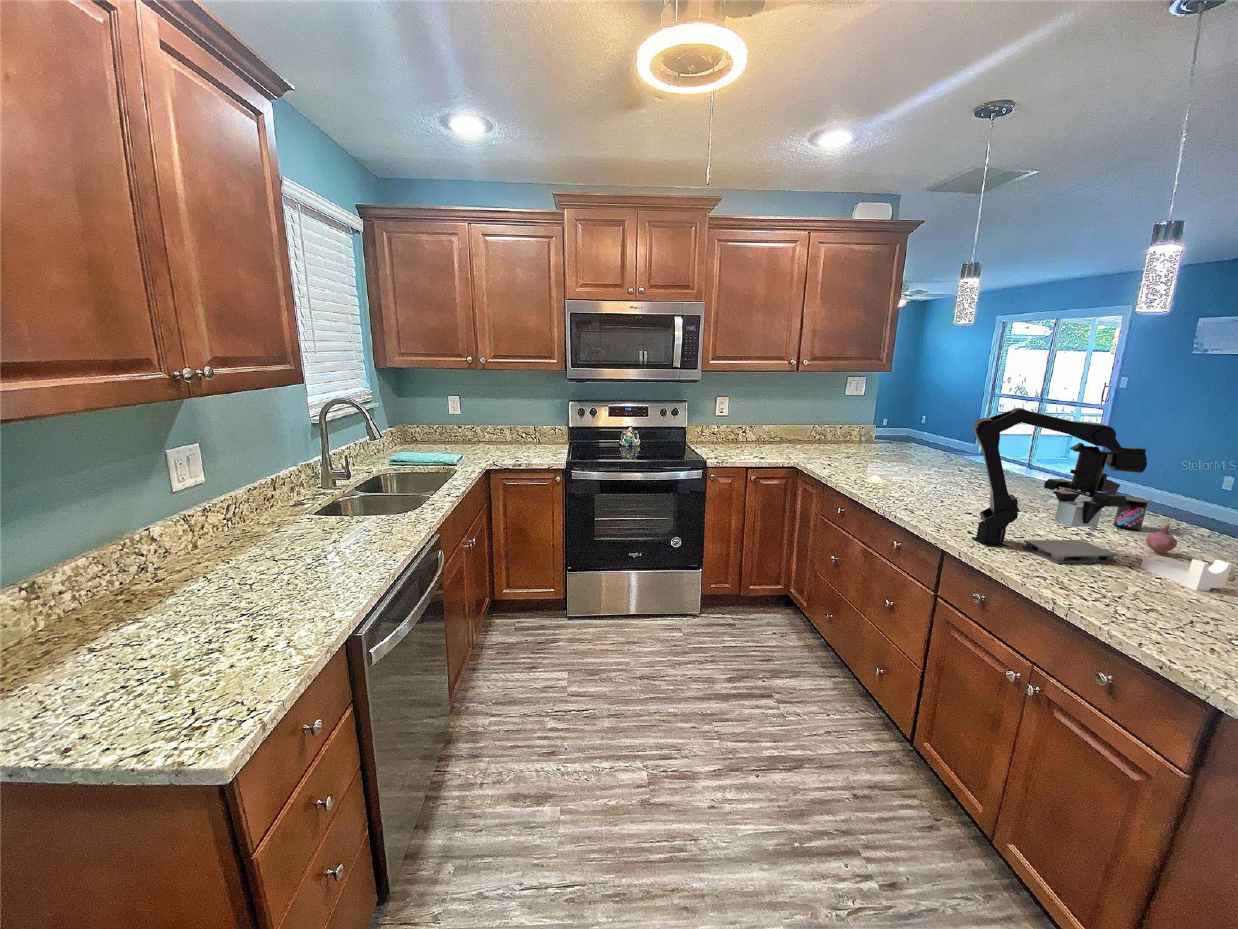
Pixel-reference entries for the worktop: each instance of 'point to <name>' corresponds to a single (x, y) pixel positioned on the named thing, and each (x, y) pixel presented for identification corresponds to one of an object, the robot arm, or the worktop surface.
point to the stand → (1069, 551)
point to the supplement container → (1131, 514)
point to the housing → (1074, 514)
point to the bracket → (1189, 572)
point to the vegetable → (1161, 541)
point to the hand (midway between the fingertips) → (1076, 520)
